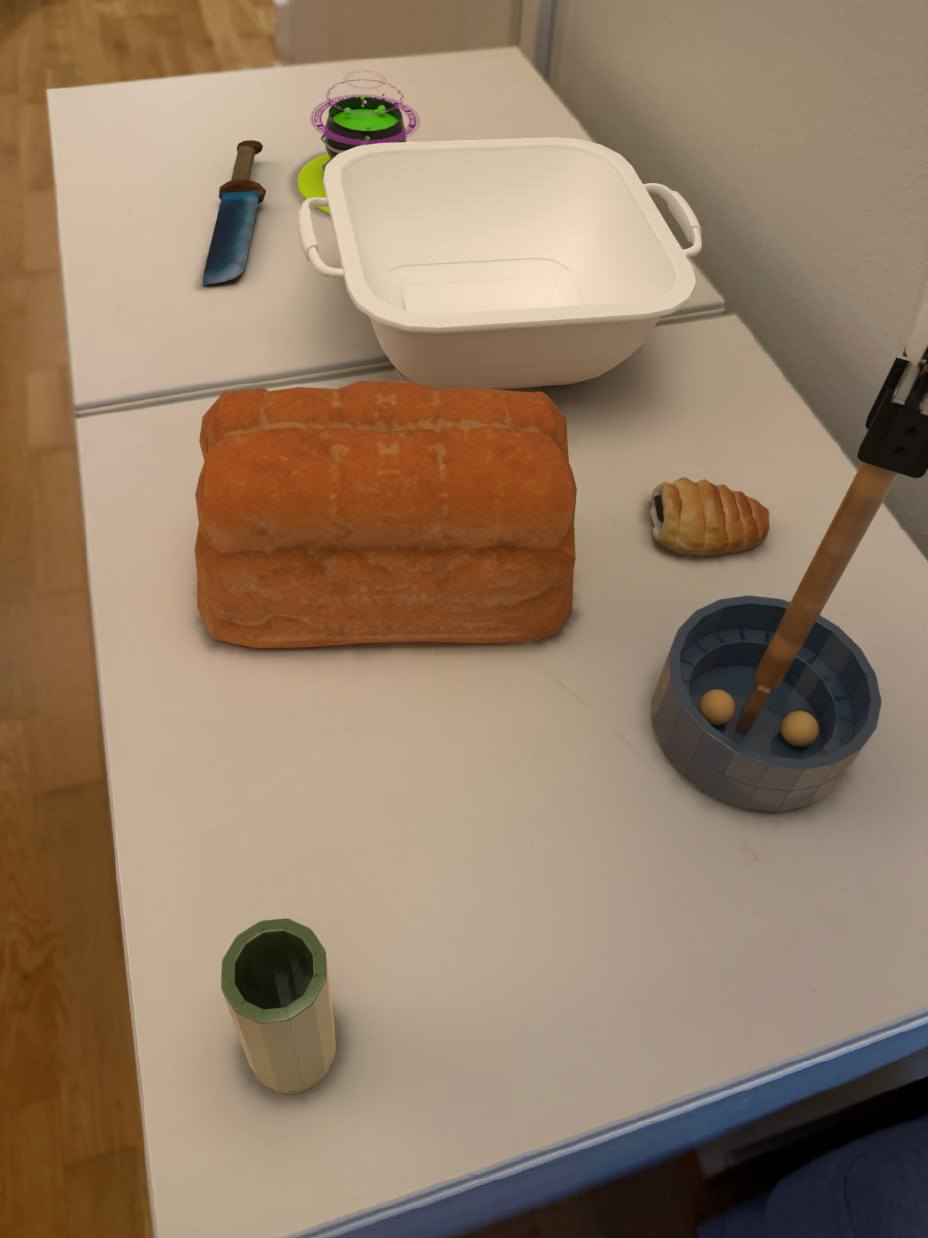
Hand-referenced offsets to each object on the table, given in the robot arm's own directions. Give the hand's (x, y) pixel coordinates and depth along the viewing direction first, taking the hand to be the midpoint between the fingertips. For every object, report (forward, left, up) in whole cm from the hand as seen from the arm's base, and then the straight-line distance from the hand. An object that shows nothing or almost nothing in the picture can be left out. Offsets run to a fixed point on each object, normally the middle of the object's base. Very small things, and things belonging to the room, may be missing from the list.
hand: (893, 448), depth 49 cm
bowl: (0, 0, -25) cm, 25 cm away
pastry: (+17, +8, -25) cm, 32 cm away
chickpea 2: (0, -3, -23) cm, 24 cm away
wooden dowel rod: (0, 0, -25) cm, 25 cm away
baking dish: (+32, +32, -25) cm, 52 cm away
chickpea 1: (-1, +2, -23) cm, 23 cm away
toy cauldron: (+52, +55, -25) cm, 80 cm away
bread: (+1, +28, -25) cm, 38 cm away
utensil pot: (-31, +18, -25) cm, 44 cm away
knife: (+39, +63, -25) cm, 78 cm away
